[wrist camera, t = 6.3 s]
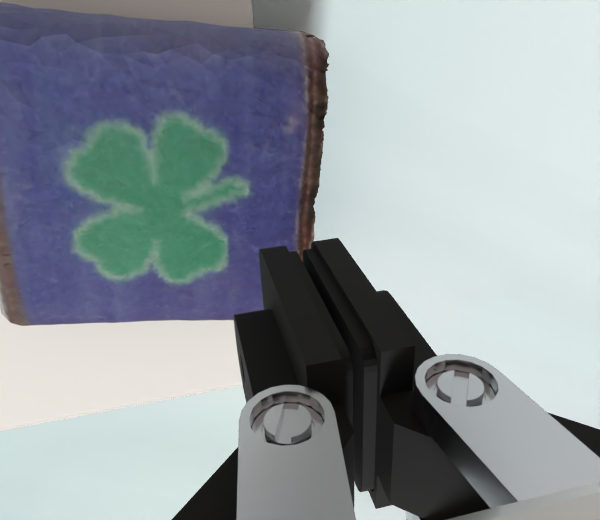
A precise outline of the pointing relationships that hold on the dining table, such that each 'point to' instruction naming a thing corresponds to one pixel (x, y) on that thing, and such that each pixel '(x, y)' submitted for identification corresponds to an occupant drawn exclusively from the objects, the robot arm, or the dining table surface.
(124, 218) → the blue green-marked block
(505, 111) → the dining table surface
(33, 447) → the dining table surface
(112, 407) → the mat
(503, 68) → the dining table surface
